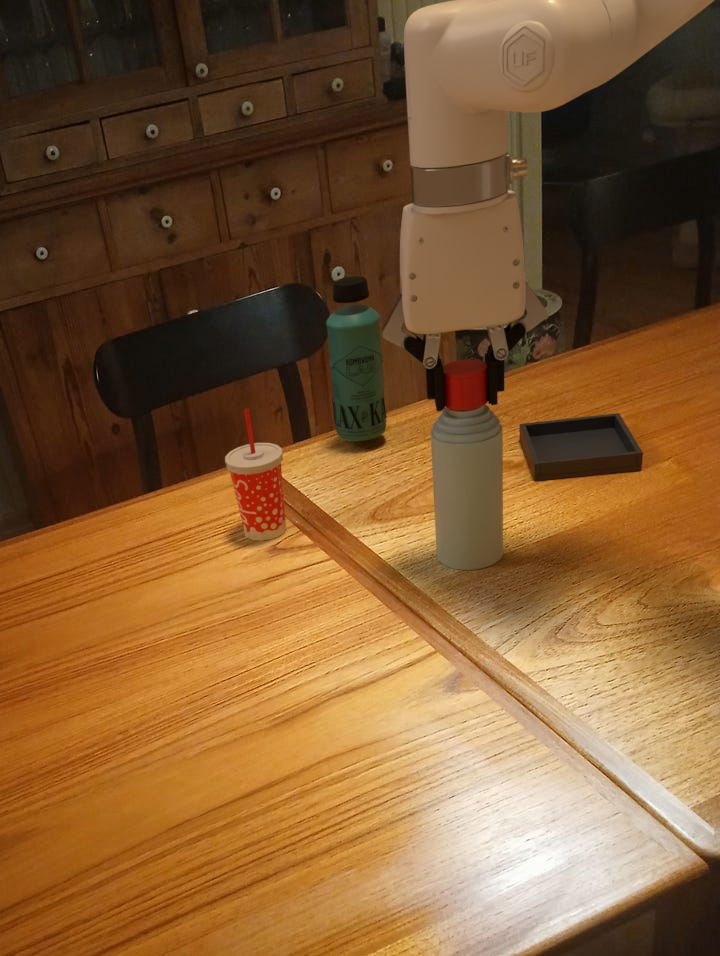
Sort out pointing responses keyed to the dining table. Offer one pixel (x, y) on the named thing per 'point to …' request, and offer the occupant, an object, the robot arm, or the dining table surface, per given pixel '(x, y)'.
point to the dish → (580, 447)
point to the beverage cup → (258, 486)
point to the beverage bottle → (356, 363)
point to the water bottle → (468, 487)
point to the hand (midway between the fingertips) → (465, 400)
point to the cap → (465, 384)
